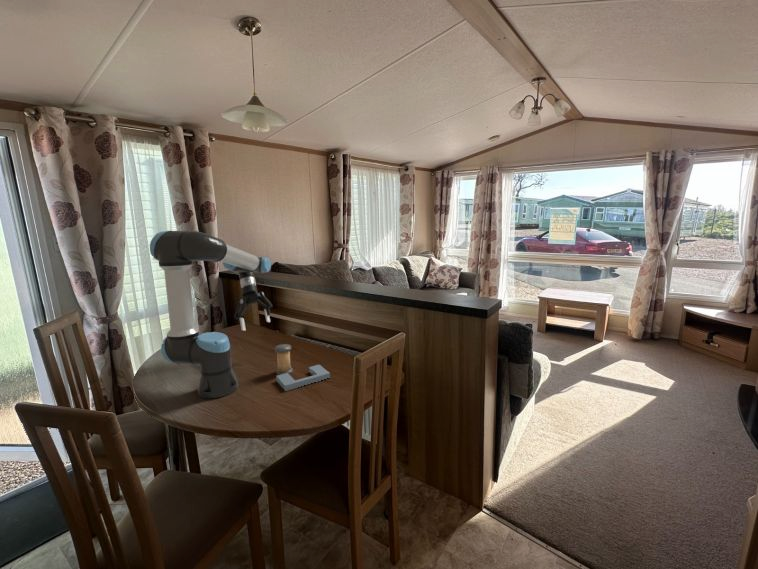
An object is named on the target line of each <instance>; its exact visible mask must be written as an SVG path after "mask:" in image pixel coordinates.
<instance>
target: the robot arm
mask: <svg viewBox="0 0 758 569" xmlns="http://www.w3.org/2000/svg"><path fill="white" fill-rule="evenodd" d="M149 252H150V255H151V256H152V257H153V259H154V260H156V261H158V267H159V268H160V269H162V270H163V271H164V279H165V280H164V281H165V288H166V299H167V308H168V318H169V327H170V328H169V329H170V330H169V331H167V333H166V336H165V338H164V339H163V341H162V343H161V347H160V352H161V356H162V357H163V359H164V360H165V361H167V363H171V364H175V365H185V366H186V365H187V366H188V365H189V366H198V367H199V371H200V377H199V381H198V385H197V396H199V397H200V398H203V399H218V398H222V397H225V396H228V395H230V394H232V393H234V392H235V391H236V390H238V388H239V381H238V378H237V377H236V374H235V372H234V370H233V366H232V356H231V344H230V340H229V337H228V335H226V334H225V333H223V332H217V331H212V332H209V331H207V332H203V333H201V334H200V330H199V328H198V327H196V326H195V320H194V317H195V316H194V307H193V296H192V289H191V288H192V286H191V278H190V268H191V267H192V266H193V264H194V263H193V262H202V261H203V262H205V261H206V262H212V263H218V262H219V263H220V262H222V266H223V267H224V268H225V269H227V271H231V272H232V273H235V274H237V275H238V277H239V283H240V288H241V295H242V298H241V299H237V304H236V308H235V312H234V315H233V318H234V319H236V320H238V325H240V328H241V331H242V332H243V331H244V332H246V331H247V329H246V322H245V319H244V318H243V317H244V315H245V313H246V312H247V309H248V308H249V306H252V305H255V304H256V303H257V304H258V305H260V306H261V307H263V308H264V309H263V311H264V316H265V321H266V322H267V323H271V318H270V316H271V308H273V304H272V302H271V301H270V300H269V299H268V298H267V297H266V295H265V293H264V292H263V291H259V292H258V287H257V282H256V278H255V273H259V274H264V273H269V272H270V271H271V268H272V261H271V259H270V258H269V257H264V256H261V257H260V256H258V255H255V254H251V253H250V252H247V251H245V250H242V249H239V248H236V247H234V246H231V245H229V244H227V242H225V241H224V240H223V239H221V238H218V237H215V236H213V235H211V234H207V233H204V232H203V231H202V232H201V231H197V230H164V231H160V232H157V233H156V234H155V235H154V236H153V237H152V238H151V240H150V243H149ZM259 297H260V298H261V299H262V300H263V301H264V302H265V303H264V302H262V301H261V300H260V299H259Z"/></svg>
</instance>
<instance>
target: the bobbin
mask: <svg viewBox="0 0 758 569" xmlns="http://www.w3.org/2000/svg"><path fill="white" fill-rule="evenodd" d="M291 350H292V344H288V343H283V344H278V345H275V347H274V352H275V353H276V358H277V359H276V360H277V368H276V370H275V372H276V376H277V375H281V374H285V373H288V374H289V375H291V374H292V373H293V371H294V370H293V367H292V366H291V352H290V351H291ZM290 373H291V374H290Z"/></svg>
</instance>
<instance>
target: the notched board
mask: <svg viewBox="0 0 758 569" xmlns="http://www.w3.org/2000/svg"><path fill="white" fill-rule="evenodd" d="M309 372H310V373H309ZM308 373H309V374H311V376H306V377H303V378H302V377H301V378H300V379H296V380H295V379H294V378H293V377H292V375H291V374H288V373H285V374H281V375H277V374H276V375H275V376H276V377H275V378H276V382H277V383H278V385H279V386H280V387H281V388H282V389H283V390H284V392H289V391H291V390H295V389H298V387H299V388H301V386H302V387H304V385H306V386H309V385H312V384H311V383H313V384H315V383H314V382H316V383H319V382H322V381H321V380H323V381H325V380H324V379H326V380H328V379H327V378H330V379H331V372H330V371H328V370H327V369H325V368H324V367H323V366H322V365H321V364H315V365H312V366H309V367H308ZM312 374H313V375H312ZM318 381H319V382H318ZM308 384H309V385H308Z"/></svg>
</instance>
